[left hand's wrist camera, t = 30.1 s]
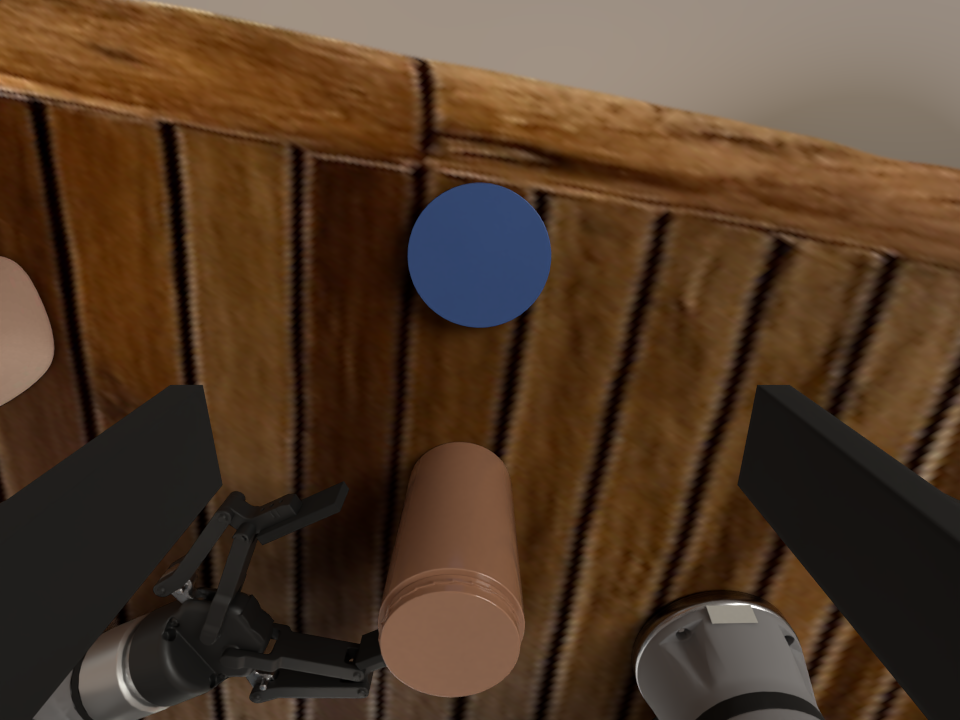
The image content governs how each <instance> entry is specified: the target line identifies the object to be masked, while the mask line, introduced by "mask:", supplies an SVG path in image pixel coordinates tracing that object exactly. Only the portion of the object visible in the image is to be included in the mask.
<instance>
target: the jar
mask: <svg viewBox="0 0 960 720" xmlns="http://www.w3.org/2000/svg"><path fill="white" fill-rule="evenodd" d="M378 631H379V638H378V640H379V645H380V650H381V655H382V657H383V660H384V662H385V664H386V665H387V667H388V668H389V670H390V671H391V672H392V673H393V675H394V676H395V677H397V678H398V679H399V680H400V681H401V682H403V683H404V684H406V685H407V686H409V687H411V688H413V689H415V690H418V691H420V692H423V693H426V694H430V695H435V696H441V697H448V698H450V697H461V696H468V695H473V694H477V693H480V692H483V691H485V690H487V689H490V688H491V687H493V686H495V685H497V684H498V683H499V682H501V681H502V680H503V679H504V678H505V677H506V676H507V675H508V674H509V673H510V672H511V671H512V669H513V668H514V666H515V664H516V662H517V660H518V657H519V653H520V644H521V642H522V639H523V636H524V631H525V618H524V608H523V597H522V587H521V577H520V567H519V557H518V547H517V537H516V527H515V517H514V506H513V496H512V486H511V479H510V475H509V472H508V470H507V468H506V466H505V465H504V463H503V462H502V461H501V460H500V459H499V457H497V456H496V455H495V454H494V453H493V452H491V451H490V450H488V449H486V448H484V447H482V446H479V445H476V444H472V443H466V442H453V443H447V444H443V445H440V446H437V447H435V448H433V449H431V450H429V451H428V452H427V453H425V454H424V455H423V456H422V457H421V458H420V459H419V460H418V461H417V463H416V464H415V466H414V467H413V469H412V472H411V474H410V479H409V483H408V487H407V492H406V496H405V501H404V505H403V509H402V514H401V518H400V523H399V527H398V531H397V536H396V540H395V545H394V549H393V553H392V558H391V562H390V567H389V571H388V576H387V580H386V584H385V589H384V593H383V598H382V602H381V606H380V611H379V615H378Z"/></svg>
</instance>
